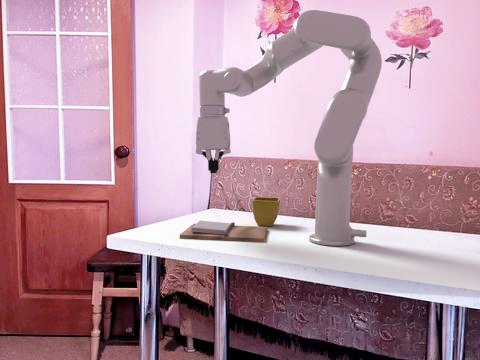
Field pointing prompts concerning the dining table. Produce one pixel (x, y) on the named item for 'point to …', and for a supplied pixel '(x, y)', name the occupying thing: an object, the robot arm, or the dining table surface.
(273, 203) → the flower pot
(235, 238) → the hinge board
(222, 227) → the tile
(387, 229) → the dining table surface
